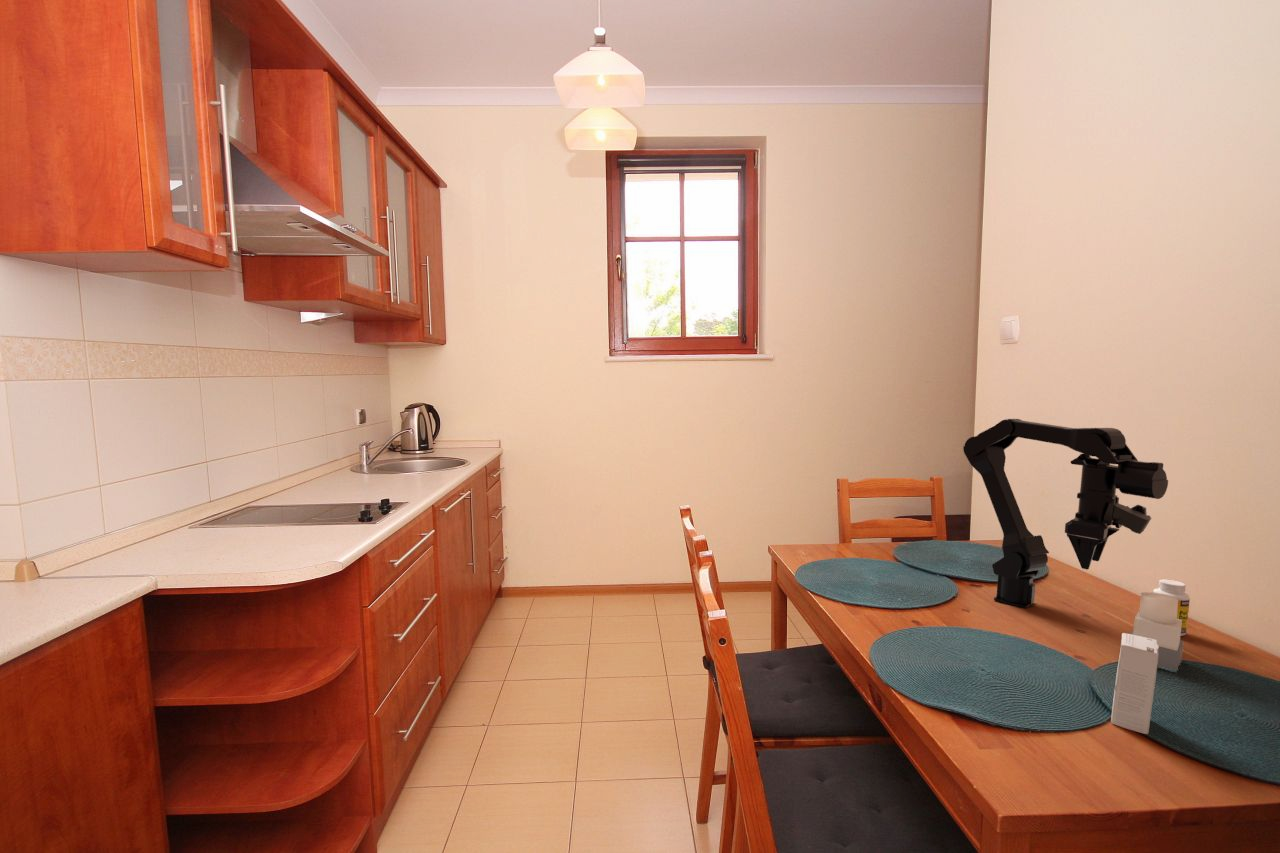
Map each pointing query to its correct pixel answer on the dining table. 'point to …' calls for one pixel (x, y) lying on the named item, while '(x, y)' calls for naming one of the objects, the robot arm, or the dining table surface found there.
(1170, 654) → the tower base
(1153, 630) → the tower top
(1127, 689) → the skincare box
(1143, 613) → the white rounded cylinder
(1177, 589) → the supplement bottle
